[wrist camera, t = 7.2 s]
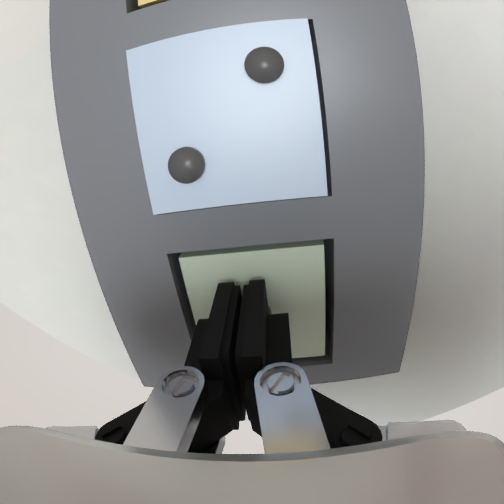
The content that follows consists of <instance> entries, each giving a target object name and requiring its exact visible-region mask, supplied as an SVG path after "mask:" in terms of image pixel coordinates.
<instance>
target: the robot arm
mask: <svg viewBox="0 0 504 504" xmlns="http://www.w3.org/2000/svg"><path fill="white" fill-rule="evenodd" d="M246 411H247V415H248V419H249V420H250V421H251V425H252V429H253V431H255V432H256V433H257V434H259V435H260V436H261V437H262V439H263V445H264V450H265V454H222V451H223V448H224V445H225V435H227V434H228V433H229V432H231V431H232V430H236V429H237V430H238V429H239V421H244V420H245V413H246ZM0 504H504V444H503V442H502V441H500V440H499V439H498V438H496V437H494V436H492V435H489V434H486V433H481V432H474V431H466V429H465V428H464V427H463V426H462V425H461V424H460V423H458V422H456V421H453V420H440V421H424V422H395V423H388V425H387V426H377V425H376V424H375V423H373V422H372V421H371V420H369V419H367V418H365V417H363V416H361V415H359V414H357V413H355V412H353V411H352V410H350V409H348V408H346V407H344V406H342V405H340V404H339V403H337V402H335V401H333V400H331V399H330V398H328V397H326V396H324V395H322V394H321V393H319V392H317V391H315V390H314V389H312V388H310V385H309V382H308V378H307V375H306V374H305V372H304V370H303V369H302V368H300V367H299V366H297V365H295V364H292V352H291V339H290V327H289V315H288V313H279V314H269V310H268V301H267V293H266V284H265V279H260V280H250V281H249V284H248V285H244V287H243V294H241V288H240V285H236V286H235V284H234V282H225V283H218V286H217V289H216V293H215V297H214V300H213V304H212V308H211V311H210V315H209V318H208V319H199V320H198V322H197V325H196V328H195V331H194V334H193V338H192V341H191V344H190V348H189V351H188V354H187V358H186V361H185V364H184V366H180V367H175V368H173V369H170V370H168V371H167V372H165V373H164V374H163V375H162V376H161V377H160V378H159V380H158V382H157V383H156V385H155V387H154V389H153V391H152V393H151V394H150V396H149V398H148V400H147V401H146V402H144V403H142V404H140V405H139V406H137V407H135V408H133V409H132V410H130V411H128V412H126V413H124V414H123V415H121V416H119V417H117V418H115V419H114V420H112V421H110V422H108V423H106V424H105V425H103V426H102V427H101V428H100V429H98V428H97V426H82V427H81V426H79V427H78V426H77V427H54V426H53V427H47V428H46V429H44V428H38V427H31V426H8V427H2V428H0Z"/></svg>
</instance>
